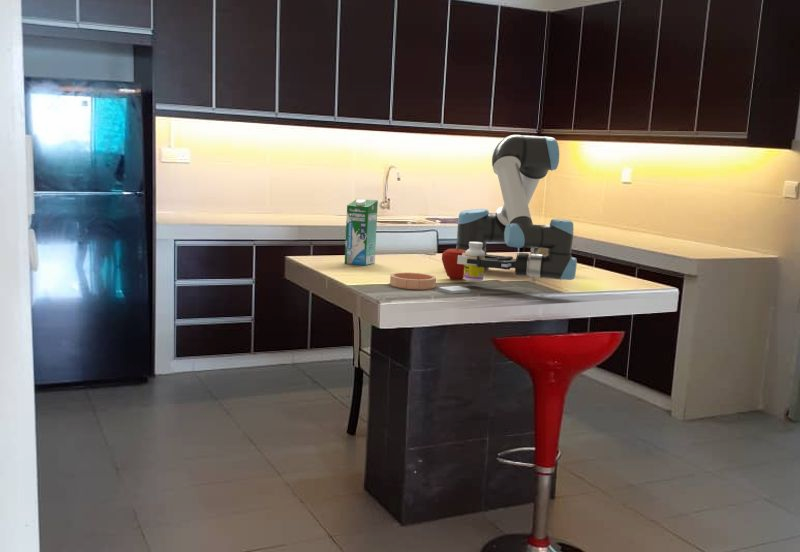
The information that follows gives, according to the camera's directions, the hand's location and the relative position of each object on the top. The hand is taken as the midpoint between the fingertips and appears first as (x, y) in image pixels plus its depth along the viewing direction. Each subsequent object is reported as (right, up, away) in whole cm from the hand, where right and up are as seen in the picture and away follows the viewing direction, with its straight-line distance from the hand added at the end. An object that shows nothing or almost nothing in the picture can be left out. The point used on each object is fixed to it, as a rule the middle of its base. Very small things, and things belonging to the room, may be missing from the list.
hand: (460, 258), depth 260 cm
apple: (0, -8, +15) cm, 17 cm away
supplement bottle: (+4, -8, 0) cm, 9 cm away
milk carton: (-36, -1, +43) cm, 56 cm away
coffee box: (+37, -4, +49) cm, 61 cm away
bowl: (-16, -10, -4) cm, 19 cm away
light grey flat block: (-3, -11, -12) cm, 16 cm away
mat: (-3, -12, -12) cm, 17 cm away
